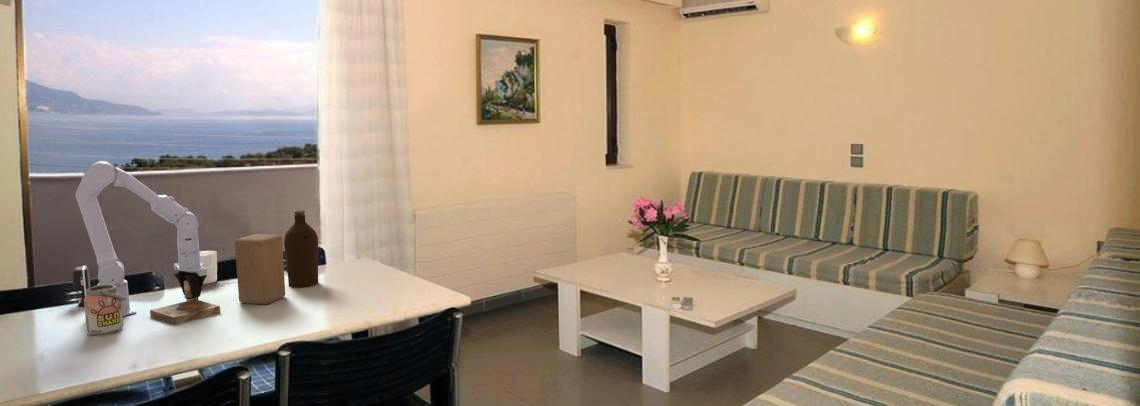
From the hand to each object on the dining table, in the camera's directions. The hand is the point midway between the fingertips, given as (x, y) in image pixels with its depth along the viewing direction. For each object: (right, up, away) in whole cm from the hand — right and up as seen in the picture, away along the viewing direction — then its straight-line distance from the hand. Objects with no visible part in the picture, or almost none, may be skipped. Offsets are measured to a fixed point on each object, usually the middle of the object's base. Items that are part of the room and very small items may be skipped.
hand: (192, 295), depth 208 cm
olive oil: (+25, +1, +24) cm, 34 cm away
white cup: (-10, +1, +27) cm, 29 cm away
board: (+4, -4, -10) cm, 12 cm away
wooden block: (+19, -2, +5) cm, 20 cm away
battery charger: (-33, -3, 0) cm, 33 cm away
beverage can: (-9, -6, -24) cm, 27 cm away
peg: (0, -2, 0) cm, 2 cm away
